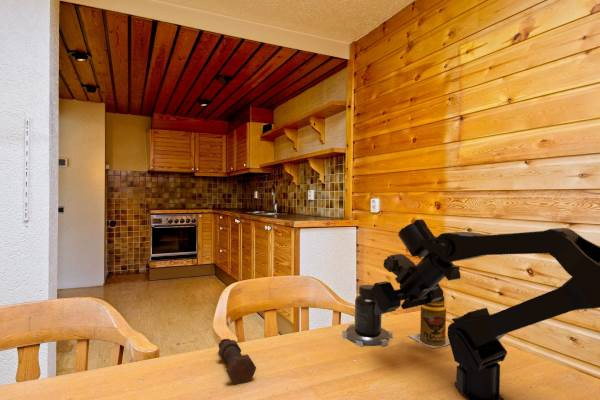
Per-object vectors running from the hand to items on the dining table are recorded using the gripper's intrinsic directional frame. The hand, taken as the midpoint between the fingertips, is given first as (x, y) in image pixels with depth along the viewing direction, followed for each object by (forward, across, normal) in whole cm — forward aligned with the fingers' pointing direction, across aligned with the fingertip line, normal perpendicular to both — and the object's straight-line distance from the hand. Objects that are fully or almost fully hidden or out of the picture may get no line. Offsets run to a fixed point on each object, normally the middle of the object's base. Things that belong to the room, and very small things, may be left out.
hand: (389, 310), depth 87 cm
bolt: (+14, +36, 0) cm, 39 cm away
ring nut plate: (+12, 0, +1) cm, 12 cm away
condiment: (+5, -13, +8) cm, 16 cm away
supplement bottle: (+11, 0, 0) cm, 11 cm away
